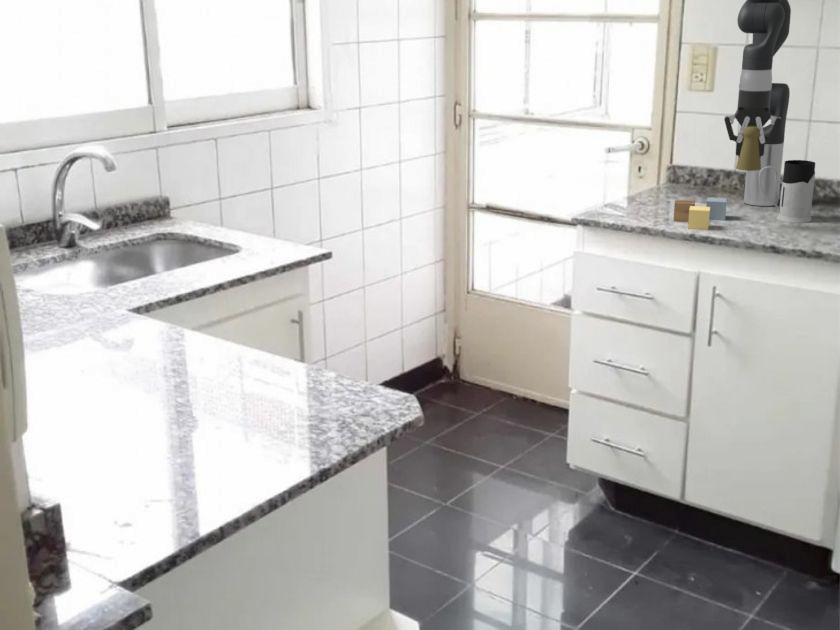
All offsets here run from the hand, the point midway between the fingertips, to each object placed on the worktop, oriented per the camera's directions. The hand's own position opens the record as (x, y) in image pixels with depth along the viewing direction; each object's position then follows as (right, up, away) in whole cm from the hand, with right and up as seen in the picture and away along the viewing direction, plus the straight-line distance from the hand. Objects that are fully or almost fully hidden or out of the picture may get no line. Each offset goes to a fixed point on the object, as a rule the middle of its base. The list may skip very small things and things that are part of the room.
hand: (749, 157), depth 250 cm
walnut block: (-13, -14, +14) cm, 24 cm away
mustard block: (-11, -17, +6) cm, 21 cm away
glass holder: (+13, -14, +13) cm, 24 cm away
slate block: (-4, -14, +16) cm, 21 cm away
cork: (0, -3, +1) cm, 3 cm away
